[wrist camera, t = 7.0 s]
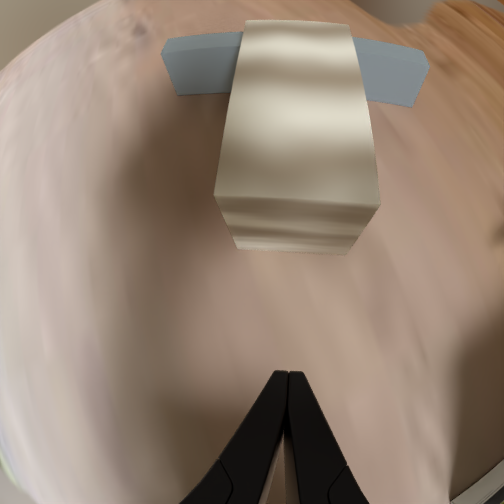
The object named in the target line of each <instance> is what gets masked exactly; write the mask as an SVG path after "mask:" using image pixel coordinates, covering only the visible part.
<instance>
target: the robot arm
mask: <svg viewBox="0 0 504 504" xmlns="http://www.w3.org/2000/svg"><path fill="white" fill-rule="evenodd" d="M283 432H284V437H283ZM282 439H283V440H284V464H285V487H286V504H369V502H368V501H367V499H366V497H365V496H364V494H363V493H362V491H361V489H360V487H359V486H358V484H357V482H356V480H355V478H354V476H353V474H352V472H351V470H350V468H349V466H348V465H347V462H346V460H345V458H344V456H343V454H342V452H341V449H340V447H339V445H338V443H337V441H336V439H335V437H334V435H333V433H332V431H331V429H330V426H329V424H328V422H327V420H326V418H325V416H324V414H323V412H322V410H321V408H320V406H319V403H318V401H317V399H316V397H315V395H314V393H313V391H312V389H311V387H310V385H309V382H308V380H307V378H306V376H305V374H304V373H303V372H302V371H290V372H289V373H288V371H283V370H275V371H274V372H273V373H272V375H271V377H270V378H269V380H268V382H267V383H266V385H265V387H264V388H263V390H262V392H261V393H260V395H259V396H258V398H257V400H256V401H255V403H254V404H253V406H252V407H251V409H250V411H249V412H248V414H247V415H246V417H245V418H244V420H243V421H242V423H241V424H240V426H239V428H238V429H237V431H236V432H235V434H234V435H233V437H232V438H231V440H230V441H229V442H228V444H227V445H226V447H225V448H224V450H223V451H222V453H221V454H220V456H219V457H218V458H219V459H217V460H216V461H215V462H214V464H213V465H212V467H211V468H210V469H209V471H208V472H207V473H206V475H205V476H204V477H203V478H202V480H201V481H200V482H199V483H198V484H197V486H196V487H195V488H194V489H193V490H192V491H191V492H190V493H189V494H188V495H187V496H186V497H185V498H184V499H183V500H182V501H181V502H180V503H179V504H266V502H267V498H268V495H269V491H270V487H271V484H272V480H273V476H274V472H275V468H276V464H277V460H278V456H279V452H280V448H281V444H282ZM346 465H347V466H346Z"/></svg>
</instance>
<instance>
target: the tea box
mask: <svg viewBox="0 0 504 504" xmlns="http://www.w3.org/2000/svg"><path fill="white" fill-rule="evenodd" d="M451 504H504V459H503V460H502V461H501V462H500V463H499V464H498V465H497V466H496V467H494V468H493V469H492V470H491V471H490V472H489V473H487V474H486V475H485V476H484V477H483V478H481V479H480V480H479V481H478V482H476V483H475V484H474V485H473V486H471V487H470V488H469V489H467V490H466V491H465V492H463V493H462V494H460V495H459V496H458V497H456V498H455V499H453V500H452V501H451Z"/></svg>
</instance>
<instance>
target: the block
mask: <svg viewBox="0 0 504 504" xmlns="http://www.w3.org/2000/svg"><path fill="white" fill-rule="evenodd" d="M214 198H215V200H216V202H217V204H218V207H219V209H220V211H221V213H222V215H223V218H224V220H225V222H226V224H227V226H228V229H229V231H230V233H231V235H232V238H233V240H234V242H235V244H236V246H237V249H244V250H261V251H278V252H296V253H313V254H329V255H346V254H347V253H348V251H349V250H350V249H351V247H352V246H353V244H354V243H355V242H356V240H357V239H358V237H359V236H360V234H361V233H362V232H363V230H364V229H365V227H366V226H367V224H368V223H369V221H370V220H371V218H372V217H373V215H374V214H375V212H376V211H377V209H378V208H379V206H380V193H379V183H378V173H377V165H376V157H375V149H374V142H373V135H372V129H371V123H370V117H369V111H368V106H367V100H366V95H365V90H364V85H363V80H362V76H361V71H360V67H359V63H358V59H357V54H356V50H355V46H354V43H353V39H352V35H351V31H350V28H349V25H345V24H336V23H326V22H314V21H296V20H246V23H245V28H244V32H243V37H242V41H241V46H240V51H239V55H238V60H237V65H236V70H235V75H234V80H233V85H232V90H231V95H230V101H229V106H228V112H227V117H226V123H225V128H224V134H223V140H222V145H221V151H220V157H219V163H218V170H217V176H216V182H215V189H214Z"/></svg>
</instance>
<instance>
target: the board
mask: <svg viewBox="0 0 504 504" xmlns="http://www.w3.org/2000/svg"><path fill="white" fill-rule="evenodd" d="M242 37H243V32H227V33H214V34H203V35H193V36H185V37H178V38H171V39H168V40H167V42H166V44H165V46H164V48H163V50H162V52H161V56H162V58H163V61H164V63H165V66H166V68H167V71H168V73H169V76H170V78H171V81H172V83H173V86H174V88H175V91H176V93H177V96H179V95H192V94H208V93H231V90H232V85H233V80H234V75H235V70H236V65H237V60H238V55H239V51H240V46H241V41H242ZM352 39H353V43H354V46H355V50H356V54H357V59H358V63H359V67H360V71H361V76H362V80H363V85H364V90H365V95H366V100H370V101H377V102H384V103H390V104H396V105H401V106H407V107H412V106H413V104H414V102H415V100H416V97H417V95H418V93H419V91H420V88H421V86H422V84H423V82H424V79H425V77H426V75H427V72H428V70H429V68H430V65H429V63H428V61H427V59H426V57H425V55H424V52H423V51H421V50H418V49H413V48H409V47H405V46H400V45H396V44H391V43H386V42H381V41H375V40H369V39H363V38H356V37H352Z"/></svg>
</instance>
